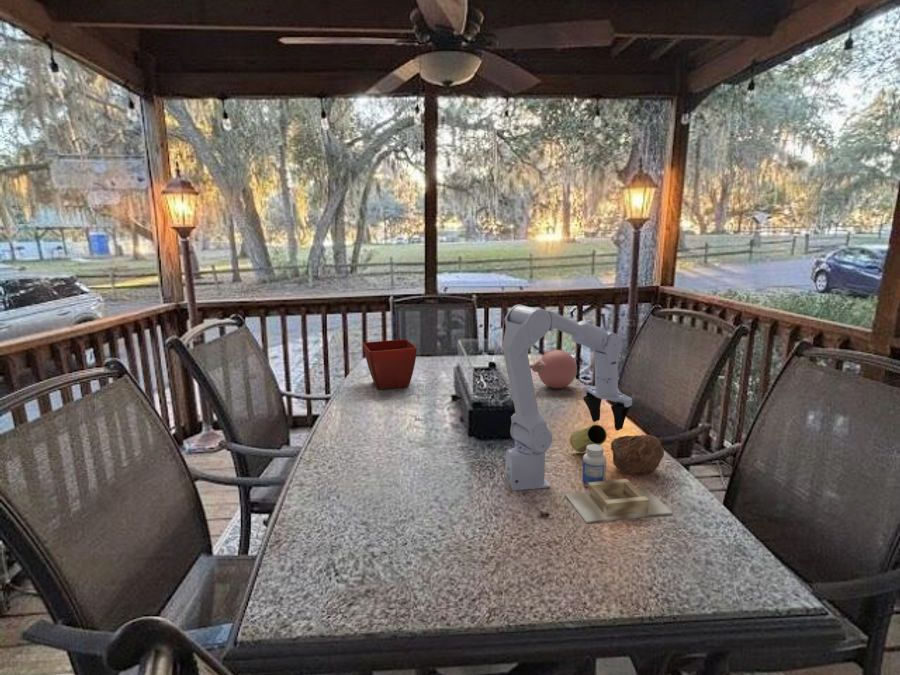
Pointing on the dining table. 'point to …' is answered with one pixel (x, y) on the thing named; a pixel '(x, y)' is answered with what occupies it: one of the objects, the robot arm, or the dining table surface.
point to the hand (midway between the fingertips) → (607, 424)
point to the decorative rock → (637, 453)
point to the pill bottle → (593, 464)
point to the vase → (588, 437)
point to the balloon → (556, 369)
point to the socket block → (615, 502)
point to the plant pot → (390, 362)
